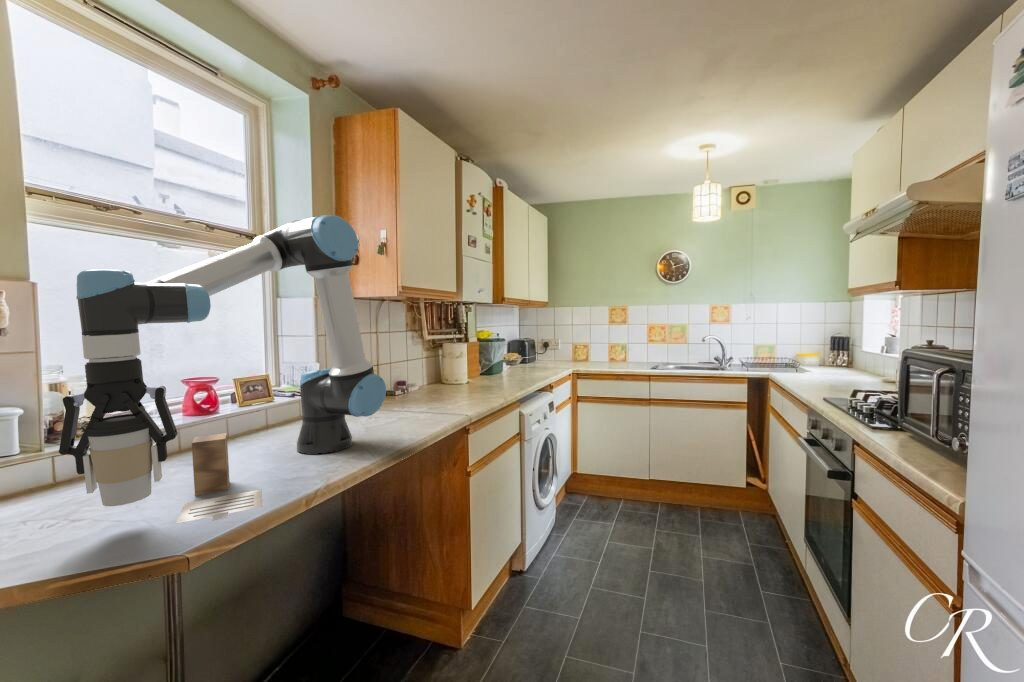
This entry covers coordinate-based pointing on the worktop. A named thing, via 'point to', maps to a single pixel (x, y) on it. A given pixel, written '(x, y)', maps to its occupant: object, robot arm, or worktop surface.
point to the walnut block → (210, 464)
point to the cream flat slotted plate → (220, 506)
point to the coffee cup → (121, 458)
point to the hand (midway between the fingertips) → (126, 484)
